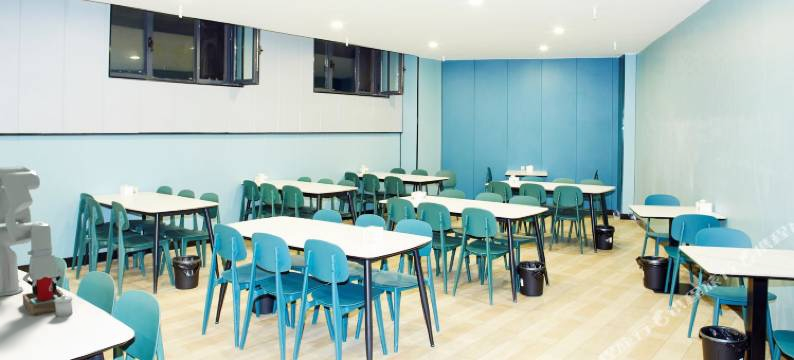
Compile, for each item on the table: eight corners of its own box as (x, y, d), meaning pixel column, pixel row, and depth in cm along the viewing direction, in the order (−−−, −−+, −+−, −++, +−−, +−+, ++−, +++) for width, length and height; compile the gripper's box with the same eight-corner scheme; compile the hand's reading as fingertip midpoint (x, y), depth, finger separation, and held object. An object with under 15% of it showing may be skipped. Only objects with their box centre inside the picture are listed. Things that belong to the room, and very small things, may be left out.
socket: (30, 304, 259) (30, 299, 259) (56, 300, 265) (56, 294, 265) (34, 310, 251) (33, 304, 251) (60, 305, 258) (60, 299, 257)
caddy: (23, 304, 263) (22, 294, 262) (59, 298, 271) (58, 288, 271) (31, 316, 246) (30, 305, 245) (69, 309, 254) (68, 299, 254)
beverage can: (56, 298, 261) (55, 272, 260) (47, 303, 255) (45, 275, 254) (43, 298, 262) (41, 271, 260) (33, 302, 255) (31, 275, 254)
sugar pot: (57, 312, 250) (56, 293, 249) (75, 311, 252) (73, 292, 251) (53, 317, 244) (51, 298, 243) (71, 316, 245) (69, 296, 245)
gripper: (19, 257, 248) (22, 299, 250) (66, 251, 259) (68, 291, 260) (17, 254, 254) (20, 295, 255) (62, 248, 265) (65, 287, 266)
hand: (44, 292), depth 258 cm, fingers closed on beverage can, 6 cm apart
